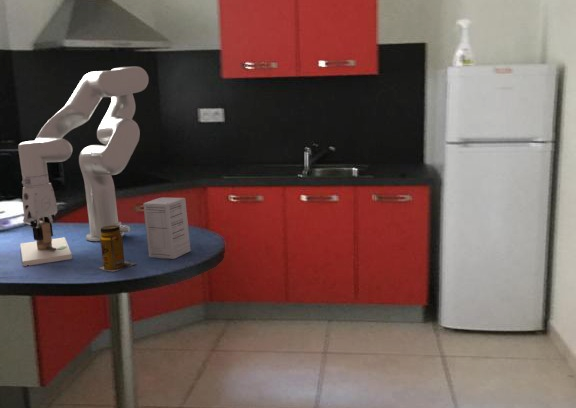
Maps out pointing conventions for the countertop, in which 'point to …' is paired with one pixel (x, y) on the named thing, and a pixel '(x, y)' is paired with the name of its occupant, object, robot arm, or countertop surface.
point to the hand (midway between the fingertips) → (43, 237)
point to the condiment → (112, 249)
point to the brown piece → (45, 237)
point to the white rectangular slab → (45, 252)
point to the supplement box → (167, 227)
